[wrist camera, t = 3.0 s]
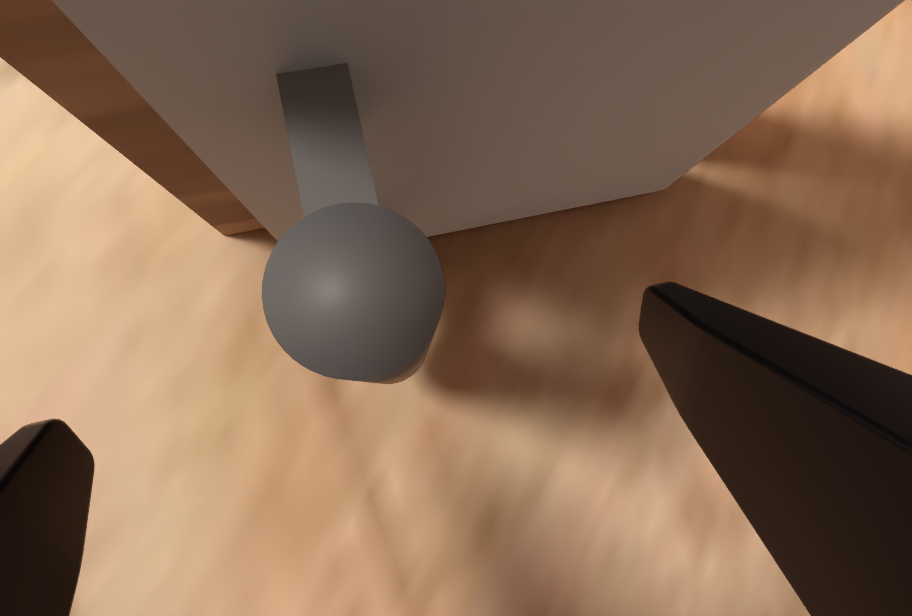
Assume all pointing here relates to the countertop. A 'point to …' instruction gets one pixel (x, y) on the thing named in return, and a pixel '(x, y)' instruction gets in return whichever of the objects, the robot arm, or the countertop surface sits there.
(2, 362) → the countertop surface
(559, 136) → the door
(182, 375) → the countertop surface
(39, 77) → the door frame
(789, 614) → the countertop surface
